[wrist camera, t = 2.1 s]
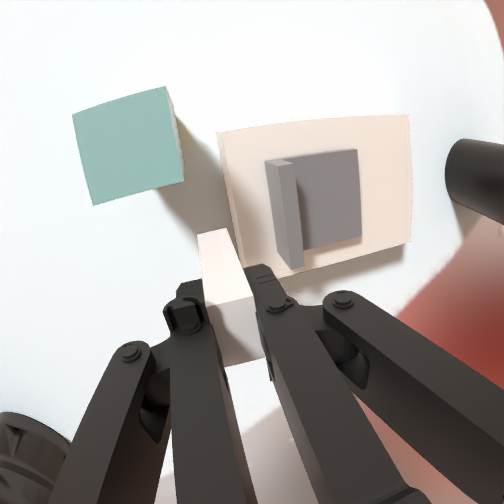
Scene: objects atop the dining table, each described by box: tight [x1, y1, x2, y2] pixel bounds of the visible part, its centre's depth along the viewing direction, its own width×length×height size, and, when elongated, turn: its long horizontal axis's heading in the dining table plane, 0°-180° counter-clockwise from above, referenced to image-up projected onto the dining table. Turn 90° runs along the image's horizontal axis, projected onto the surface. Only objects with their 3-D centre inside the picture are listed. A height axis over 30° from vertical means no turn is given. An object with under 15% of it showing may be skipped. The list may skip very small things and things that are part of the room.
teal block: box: [72, 86, 184, 206], centre depth 17 cm, size 4×4×12 cm
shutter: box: [264, 148, 362, 270], centre depth 21 cm, size 7×7×3 cm
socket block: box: [216, 114, 412, 279], centre depth 25 cm, size 16×12×4 cm
